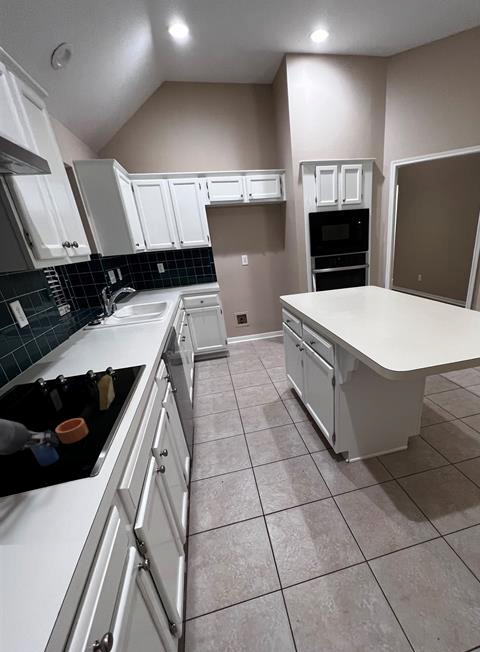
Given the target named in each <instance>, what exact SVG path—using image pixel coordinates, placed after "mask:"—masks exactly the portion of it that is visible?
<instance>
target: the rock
mask: <svg viewBox="0 0 480 652" xmlns="http://www.w3.org/2000/svg"><path fill="white" fill-rule="evenodd" d="M97 388H98V391H99V410H100V411H106V410H108V409H109V407H110V405H111V403H113V401H114V398H115V397H116V396H115V389H114V385H113V377H112V376H111V375H109V374H105V375H103V376H102V377H101V378H100V380H99V381H98V383H97Z"/></svg>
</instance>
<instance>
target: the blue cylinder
mask: <svg viewBox="0 0 480 652" xmlns="http://www.w3.org/2000/svg"><path fill="white" fill-rule="evenodd" d="M40 433H43V434H44V431H41V432H40ZM43 443H45V442H43ZM35 444H36V443H35ZM30 448H31V452H32V454H33V456H34V457H35V459H36V461H37V463H38V465H39V466H40V467H47V466H50V465H53V464H55V463H56V462H57V461H58V460H59V458H60V457H59V455H58V452H57V450H56V449H55V448H56V447H51V446H40V447H30Z"/></svg>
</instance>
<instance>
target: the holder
mask: <svg viewBox="0 0 480 652" xmlns="http://www.w3.org/2000/svg"><path fill="white" fill-rule="evenodd" d="M55 434H57V435H56V436H57V437H58V439H59V442H61V444H65V445H67V444H68V445H69V444H74V443H77V442H78V441H81V440H82V439H84V438H86V436H88V434H89V428H88V425H87V424H86V421H85V419H84V418H82V417H77V418H76V417H75V418H71V419H68V420H66V421H63V422H61V423H60V424H58V425H57V427H56V428H55Z"/></svg>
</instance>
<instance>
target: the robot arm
mask: <svg viewBox="0 0 480 652" xmlns="http://www.w3.org/2000/svg"><path fill="white" fill-rule="evenodd" d="M43 432H44V434H43V433H41V432H35V431H32V430H28V428H27V427H26V426H25V424H22V423H20V422H16V421H12V420H8V419H4V418H0V455H2V456H3V455H4V456H9V455H12V454H14V453H17V452H18V451H24V450H31V448H30V447H40V446H51V447H54V448H56V447H58V446H59V444H60V443H59V442H60V439H59V438H57V436H58V435H57V433H56V432H54V431H53V430H50V429H47V430H44V431H43ZM43 442H45V443H43ZM35 443H36V444H35ZM31 451H32V450H31Z"/></svg>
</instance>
